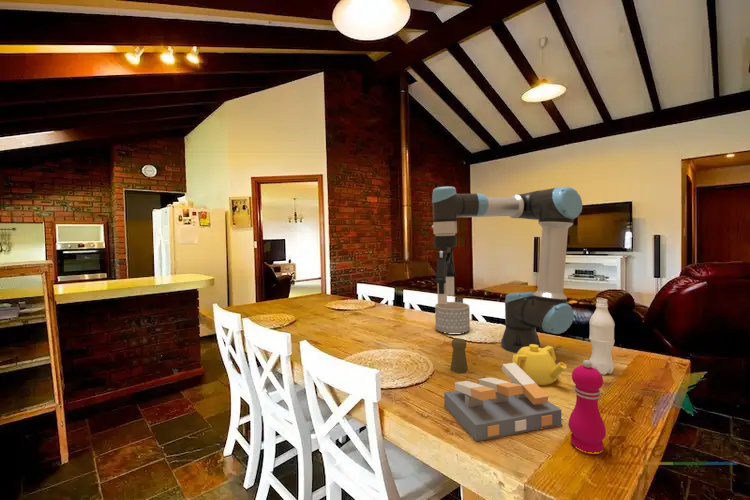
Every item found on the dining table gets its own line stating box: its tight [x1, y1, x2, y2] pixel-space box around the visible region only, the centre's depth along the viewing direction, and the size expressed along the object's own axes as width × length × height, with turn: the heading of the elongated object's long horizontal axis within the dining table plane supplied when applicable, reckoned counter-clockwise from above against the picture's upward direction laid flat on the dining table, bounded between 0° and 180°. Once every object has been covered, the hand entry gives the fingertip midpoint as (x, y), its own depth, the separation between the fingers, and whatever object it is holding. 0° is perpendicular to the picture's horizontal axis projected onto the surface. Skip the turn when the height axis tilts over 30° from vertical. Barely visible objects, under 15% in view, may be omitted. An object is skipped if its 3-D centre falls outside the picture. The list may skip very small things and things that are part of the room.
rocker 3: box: [501, 362, 549, 405], centre depth 93 cm, size 4×14×2 cm, turn 14°
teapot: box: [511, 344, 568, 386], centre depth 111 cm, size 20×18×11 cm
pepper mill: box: [568, 359, 607, 453], centre depth 77 cm, size 7×7×20 cm
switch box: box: [443, 381, 562, 442], centre depth 91 cm, size 24×17×6 cm
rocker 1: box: [454, 380, 496, 400], centre depth 89 cm, size 4×14×2 cm, turn 14°
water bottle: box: [588, 298, 616, 376], centre depth 116 cm, size 7×7×25 cm
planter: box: [434, 301, 471, 334], centre depth 168 cm, size 16×16×13 cm
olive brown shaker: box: [450, 338, 469, 374], centre depth 121 cm, size 6×6×11 cm
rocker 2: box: [478, 377, 523, 396], centre depth 91 cm, size 4×14×2 cm, turn 14°
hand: (446, 299), depth 112 cm, fingers open, 13 cm apart
